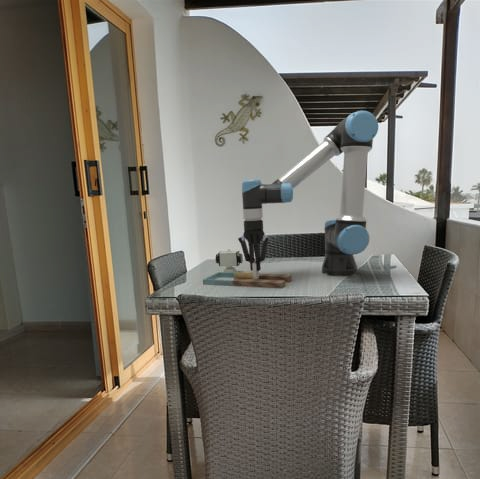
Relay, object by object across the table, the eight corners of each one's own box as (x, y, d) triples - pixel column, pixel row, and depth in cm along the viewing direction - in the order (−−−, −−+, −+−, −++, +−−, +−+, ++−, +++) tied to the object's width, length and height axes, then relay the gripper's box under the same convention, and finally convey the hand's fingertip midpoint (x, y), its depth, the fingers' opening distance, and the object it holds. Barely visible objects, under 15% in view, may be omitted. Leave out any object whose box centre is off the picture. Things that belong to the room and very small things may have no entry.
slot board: (291, 281, 144) (291, 274, 143) (282, 291, 131) (281, 283, 130) (246, 280, 151) (245, 273, 151) (232, 288, 139) (232, 280, 138)
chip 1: (247, 280, 146) (246, 271, 145) (243, 283, 142) (242, 273, 142) (238, 280, 147) (237, 270, 147) (234, 282, 144) (233, 272, 143)
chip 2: (256, 281, 144) (255, 271, 144) (252, 283, 140) (252, 273, 140) (247, 280, 146) (246, 271, 145) (243, 283, 142) (242, 273, 142)
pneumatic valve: (241, 276, 159) (240, 249, 157) (216, 276, 161) (214, 250, 160) (244, 273, 164) (242, 248, 163) (219, 273, 167) (218, 248, 165)
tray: (246, 280, 151) (245, 273, 151) (232, 288, 139) (232, 280, 138) (218, 278, 156) (218, 272, 156) (203, 286, 144) (202, 279, 143)
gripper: (271, 218, 140) (274, 277, 143) (241, 219, 145) (244, 276, 148) (265, 219, 133) (268, 281, 136) (234, 220, 138) (237, 280, 141)
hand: (255, 278), depth 142 cm, fingers closed
